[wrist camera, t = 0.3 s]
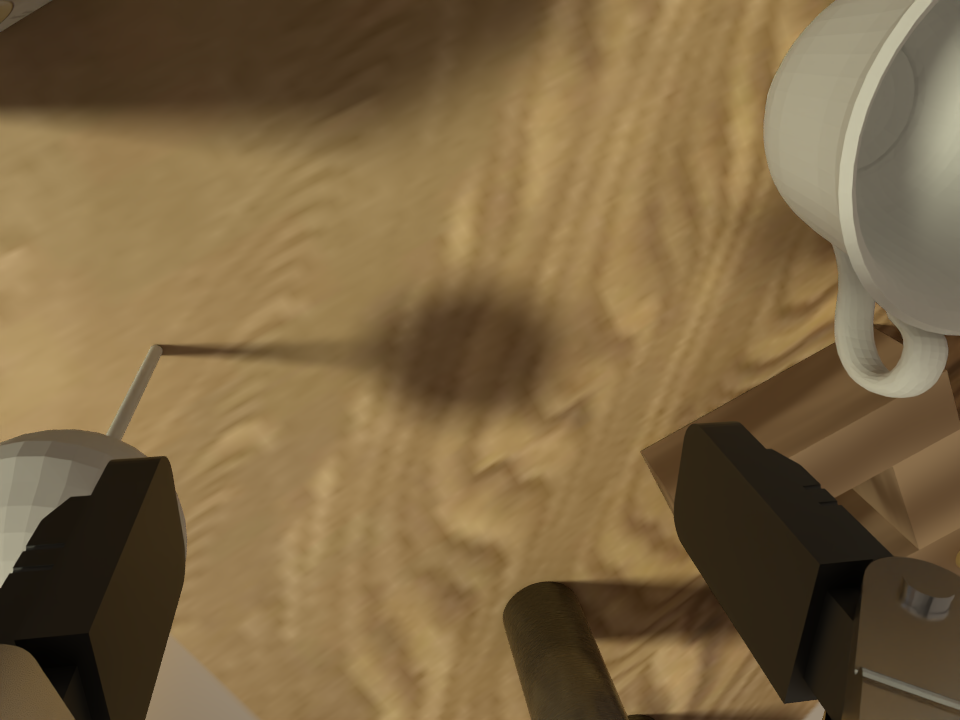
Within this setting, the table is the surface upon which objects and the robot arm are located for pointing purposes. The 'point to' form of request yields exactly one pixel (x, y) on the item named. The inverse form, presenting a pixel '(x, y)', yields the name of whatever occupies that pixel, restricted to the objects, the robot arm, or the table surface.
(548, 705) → the long pin
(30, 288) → the table surface
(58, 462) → the lollipop
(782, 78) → the teacup
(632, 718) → the short pin
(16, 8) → the coffee box
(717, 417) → the hole block
